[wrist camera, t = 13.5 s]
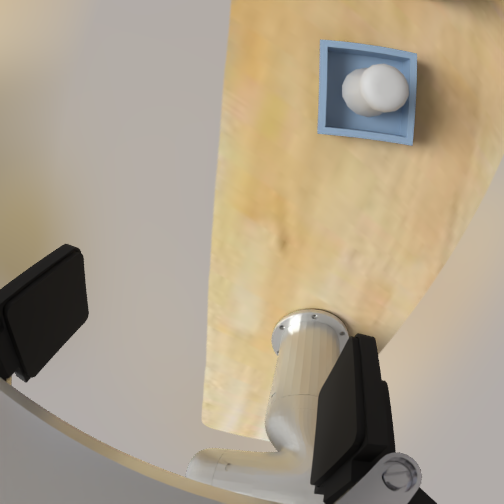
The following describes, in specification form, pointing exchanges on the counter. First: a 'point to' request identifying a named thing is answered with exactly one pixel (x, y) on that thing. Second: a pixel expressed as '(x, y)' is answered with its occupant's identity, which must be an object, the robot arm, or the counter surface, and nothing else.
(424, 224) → the counter surface
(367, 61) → the slate-blue bin
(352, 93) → the salt shaker
